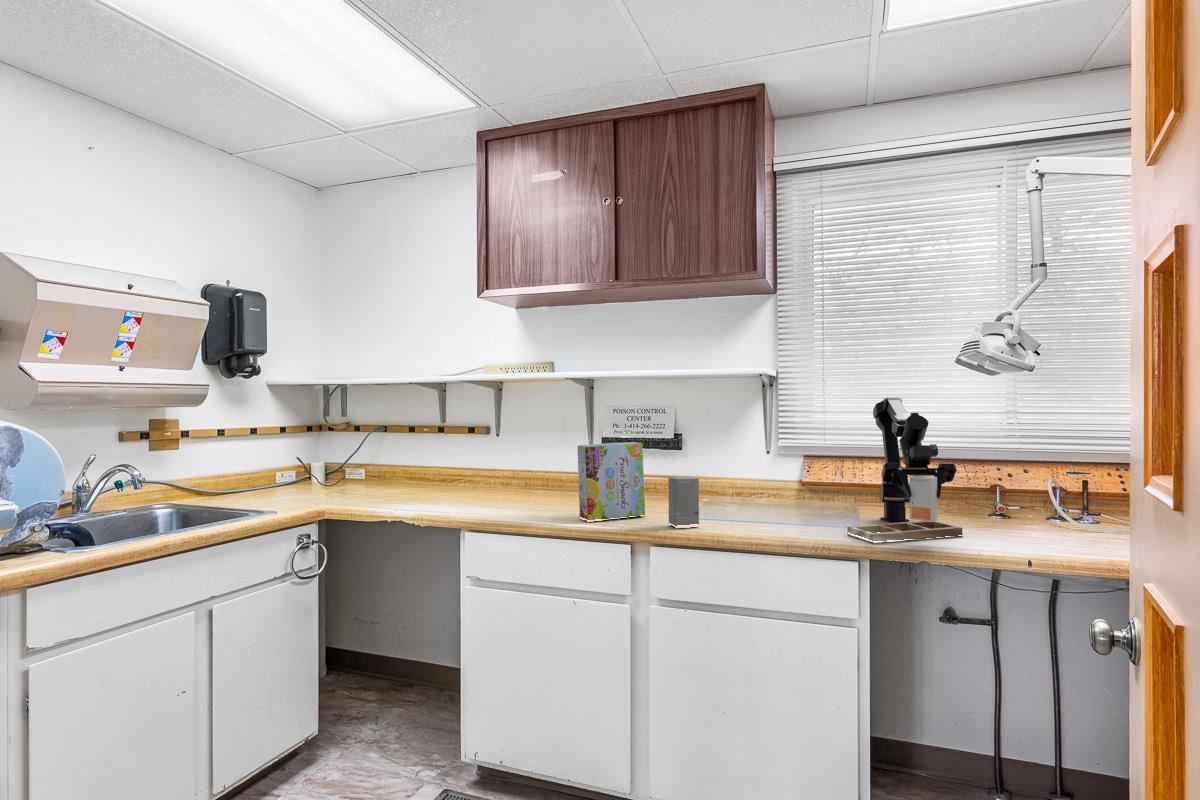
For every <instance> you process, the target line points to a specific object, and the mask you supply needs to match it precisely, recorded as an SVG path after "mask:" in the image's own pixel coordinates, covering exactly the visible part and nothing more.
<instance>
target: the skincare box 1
mask: <svg viewBox="0 0 1200 800" xmlns="http://www.w3.org/2000/svg"><path fill="white" fill-rule="evenodd" d="M667 480H668V524H669V523H671V524H673V525H675V526H677V525H690V524H699V525H700V517H699V516H700V493H699V492H700V489H699V487H700V485H699V483H700V482H699V480H700V479H699V477H693V476H671V477H670V476H669V477H668V478H667Z"/></svg>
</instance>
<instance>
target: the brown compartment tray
mask: <svg viewBox="0 0 1200 800" xmlns="http://www.w3.org/2000/svg"><path fill="white" fill-rule="evenodd" d="M846 528H847V533H848V532H849V533H851V534H854V535H858V536H861V537H864V538H867V539H869V540H872V541H887V540H904V539H926V538H936V537H945V536H958V535H963V533H964V532H963V527H961V526H957V525H953V524H950V523H949V524H948V523H946V522H941V521H938V520H936V521H934V522H927V521H920V520H913V521H903V522H889V523H877V524H865V525H864V524H863V525H851V526H850V525H849V526H847V527H846ZM877 532H880V533H877ZM926 540H927V539H926Z"/></svg>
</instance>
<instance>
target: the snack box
mask: <svg viewBox="0 0 1200 800" xmlns="http://www.w3.org/2000/svg"><path fill="white" fill-rule="evenodd" d="M643 445H644V444H643V442H635V441H631V442H630V441H629V442H627V441H626V442H607V443H606V442H605V443H596V444H593V443H592V444H580V445H577V448H576V449H577V471H578V472H577V473H578V474H577V475H578V503H579V504H578V505H579V517H580V516H581V517H582V518H585V519H587V520H595V519H610V518H620V517H629V516H640V515H645V516H646V507H645V506H646V504H645V503H646V502H645V499H646V498H645V476H644V474H645V473H644V452H643V451H644V448H643Z"/></svg>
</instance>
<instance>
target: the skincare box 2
mask: <svg viewBox="0 0 1200 800" xmlns="http://www.w3.org/2000/svg"><path fill="white" fill-rule="evenodd" d="M909 484H910V491H911V497H910V503H909V520H912V521H927V522H934V521H938V497H937V477H934V476H910V477H909Z"/></svg>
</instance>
